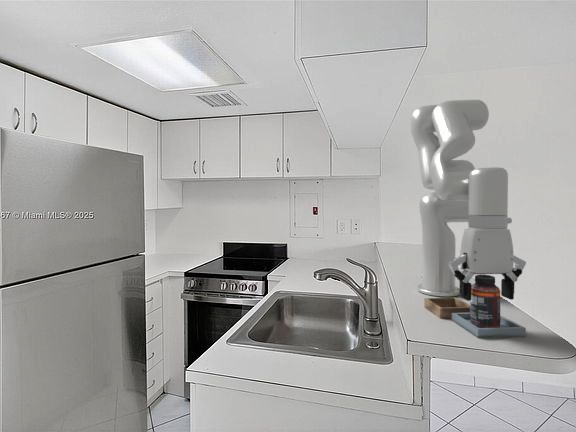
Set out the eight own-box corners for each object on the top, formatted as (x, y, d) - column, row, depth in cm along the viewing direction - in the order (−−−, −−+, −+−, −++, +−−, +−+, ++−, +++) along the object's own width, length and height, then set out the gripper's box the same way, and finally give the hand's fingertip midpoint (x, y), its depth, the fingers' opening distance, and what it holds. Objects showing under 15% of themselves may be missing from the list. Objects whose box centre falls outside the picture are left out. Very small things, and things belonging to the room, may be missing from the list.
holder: (424, 307, 90) (424, 298, 90) (455, 306, 91) (455, 297, 90) (440, 318, 82) (440, 308, 82) (474, 317, 82) (474, 307, 82)
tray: (451, 320, 80) (451, 313, 80) (493, 319, 81) (493, 311, 81) (477, 337, 70) (478, 329, 70) (525, 336, 70) (525, 328, 70)
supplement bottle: (495, 321, 77) (495, 274, 77) (504, 331, 72) (505, 280, 71) (467, 319, 79) (467, 272, 79) (473, 329, 73) (474, 278, 73)
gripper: (512, 221, 78) (511, 292, 79) (441, 222, 78) (440, 294, 78) (537, 223, 71) (536, 302, 72) (458, 225, 70) (458, 304, 71)
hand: (486, 298), depth 75 cm, fingers open, 9 cm apart
